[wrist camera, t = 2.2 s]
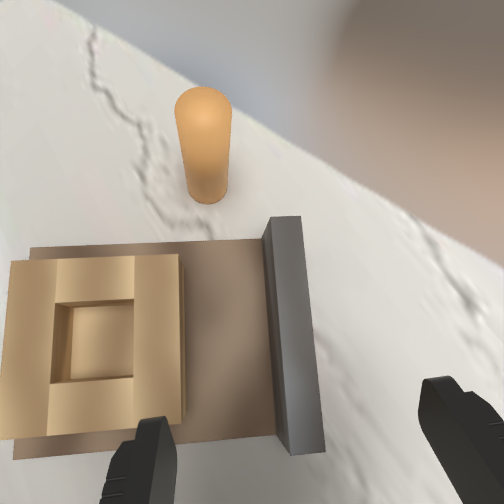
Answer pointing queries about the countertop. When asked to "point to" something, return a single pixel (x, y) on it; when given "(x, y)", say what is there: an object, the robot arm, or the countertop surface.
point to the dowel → (204, 141)
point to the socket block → (92, 345)
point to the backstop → (228, 343)
